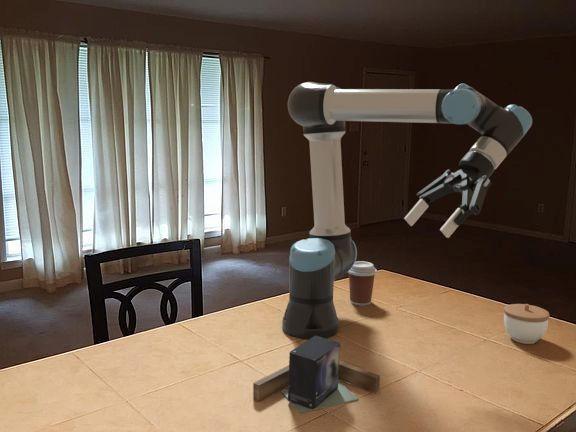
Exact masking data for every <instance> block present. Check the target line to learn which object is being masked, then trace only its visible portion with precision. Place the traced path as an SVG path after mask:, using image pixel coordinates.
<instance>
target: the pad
mask: <svg viewBox="0 0 576 432" xmlns="http://www.w3.org/2000/svg"><path fill="white" fill-rule="evenodd" d="M280 391H281V393H282V394H283V396H284V397H285V398H286V399H287V400H288V388H287V389H286V388H285V389H281V390H280ZM356 401H359V397H357V396H356V395H355V394H354V393H353V392H352V391H351V390H349V389H348V388H347V387H346V386H345V385H344V384H343V383H342V382H340V380H338V389H337V390H336V391H334V392H333V393H332V394H331V395H330V396H328V397H327V398H326V399H325V400H324V401H323V402H321V403H320V404H319V405H318V406H317V407H316V408H314V409H311V408H308V407H305V406H302V405H299V404H297V403H294V402H291V401H289V403H290V404H291V405H292V406H293V407H294V409H295V410H296V411H297V412H298V413H299V414H302V413H307V412H311V411H316V410H321V409H325V408H330V407H333V406H334V407H335V406H338V405H342V404H348V403H351V402H356Z"/></svg>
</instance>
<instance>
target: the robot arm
mask: <svg viewBox="0 0 576 432" xmlns="http://www.w3.org/2000/svg"><path fill="white" fill-rule="evenodd" d="M287 110H288V111H287V112H288V114H289V116H290V117H291V119H292V120H293V121H294V122H295V123H296V124H298V125H299V126H301V127H302V131H303V136H304V137H305V138H306V139H307V140H308V142H309V143H308V144H309V156H310V157H309V158H310V160H309V161H310V172H311V173H310V174H311V188H312V189H311V191H312V204H313V205H312V206H313V207H312V208H313V223H314V226H313V227H312V229H310V231H309V238H306V239H300V240H298V241H296V242H294V243H293V244H292V245H291V247H290V250H289V258H288V263H289V284H288V285H289V287H288V289H289V297H288V299H289V300H288V302H287V306H286V308H285V310H284V311H285V312H284V315H283V316H282V321H281V322H282V325H281V327H282V330H283V332H284V333H286V334H288V335H290V336H292V337H295V338H300V339H307V340H309V339H311V338H312V337H314V336H319V337H322V338H325V339H327V338H329V337H332V336H334V335H336V334H337V333H338V332H339V329H340V328H339V327H340V320H339V318H338V314H337V311H336V306H335V303H334V285H335V284H334V283H335V282H334V281H336V280H337V279H338V278H340V277H342V276H345V274H347V273H348V271H349V270H350V269H351V268H352V266H353V265H354V263H355V262H356V260H357V256H358V251H357V249H358V248H357V246H356V243H355V242H354V240H352V239H353V238H352V233H351V229H350V228H349V227H348V226H347V225H346V222H345V205H344V201H345V199H344V184H343V181H344V180H343V167H342V163H343V162H342V147H341V145H342V144H341V143H342V142H341V140H342V137H343V136H344V135H345V134H346V121H347V122H375V123H376V122H381V123H382V122H385V123H386V122H387V123H420V124H423V123H424V124H425V123H426V124H427V123H428V124H452V125H453V124H454V125H468V126H469V127H470V128H472V129H474V130H475V131H477V132H478V133H480V134H481V136H480V137H479V138H478V139H477V141H476V142H475V143H474V144H473V145H472V146H471V147H470V149H469V151H467V153H466V154H465V155H464V156H463V157H462V158H461V160H460V161H459V163H458V169H457V171H455V172H452V171H451V169H446V170H445V171H444V173H443V174H441V175H440V176H438V177H437V178H436V179H434V180H433V181H432V182H431V183H429V184H428V185H426V186H425V187H424V188H422V189H421V190H420V191H418V192H417V193H416V196H417V198H418V201H417V202H416V203H415V204H414V205H413V207H412V208H411V209H410V210H409V212H408V213H407V214H406V215H405V216H404V217H403V219H404V220H405V222H407V224H408V225H409V226H410V227H412V226H414V224H415V223H416V222H417V221H418V220H419V219H420V217H421V216H423V214H424V213H425V212H426V211H427V209H428V208H429V207H430V206H429V204H431V203H432V202H434V201H435V202H436V201H437V200H438V199H441V198H442V197H444V196H446V195H448V194H453V193H460V194H462V199H461V204H459V207H457V208H456V209H455V211H453V213H452V214H451V215H450V217H449V218H448V219H447V220H446V221H445V223H444V224H443V225H442V226H441V227H440V229H439V231H440V232H441V233H442V234H443V236H445V238H447V239H449V238H450V237H451V235H453V234H454V232H455V231H456V229H458V227H459V226H461V225H462V224H463V223H464V222H465V221H466V219H467V218H468V217H471V216H472V215H474V216H478V215H480V213H481V211H482V207H483V205H484V201H485V198H486V195H487V192H488V190H489V188H490V187H491V186H492V182H491V180H490V179H489V178H490V177H491V176H492V174H493V173H494V172H495V170H497V168H498V167H499V166H500V164H501V163H502V162H503V161H504V160H505V158H507V156H508V155H509V154H510V153H511V152H512V151H513V150H514V148H515V147H516V146H517V145H518V144H519V143H520V141H521V140H522V139H523V138H524V137H525V135H526V134H527V132H528V131H529V130H530V128H532V125H533V118H532V115H531V114H530V112H529V111H528V110H527V109H526V108H524V107H523V106H520V105H519V106H518V105H517V104H509V105H507V106H506V107H504V108H503V107H502V106H499V105H498V104H496V103H495V102H494V101H492V100H490V98H488V97H486V96H485V95H483V94H482V93H481V92H479V91H477V90H476V89H475V87H472V86H469V85H468V84H466V83H460V84H458V85H457V86H456V87H455V88H453V89H451V88H450V89H449V88H448V89H445V88H444V89H440V88H439V89H433V88H431V89H429V88H427V89H426V88H425V89H422V88H420V89H419V88H418V89H417V88H416V89H415V88H414V89H413V88H409V89H407V88H406V89H404V88H403V89H402V88H399V89H397V88H396V89H395V88H392V89H391V88H389V89H388V88H387V89H386V88H384V89H383V88H381V89H380V88H374V89H373V88H371V89H370V88H367V89H366V88H363V89H362V88H355V89H354V88H348V89H347V88H345V89H344V88H343V89H342V88H340V87H338V86H336V85H334V84H333V83H321V82H313V81H307V82H303V83H300V84H298V85H297V86H295V87H294V88H293V90H292V91H291V92H290V94H289V96H288V100H287Z"/></svg>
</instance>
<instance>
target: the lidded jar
mask: <svg viewBox="0 0 576 432" xmlns="http://www.w3.org/2000/svg"><path fill="white" fill-rule="evenodd" d="M549 320H550V313H549V311H548V310H546V309H544V308H543V307H542V308H541V307H539V306H537V305H531V304H529V303H511V304H507V305H505V306H504V308H503V324H504V329H505V332H507V335H509V336H510V338H511V340H513V341H514V342H516V343H521V344H525V345H531V344H532V345H533V344H535V343H537V342H538V341H539V340H541V339H542V338H543V337H544V335H545V334H546V332H547V329H548V325H549Z"/></svg>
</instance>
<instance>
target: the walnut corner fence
mask: <svg viewBox="0 0 576 432" xmlns="http://www.w3.org/2000/svg"><path fill="white" fill-rule="evenodd" d="M338 381H342V382H344V383H347V384H349V385H352V386H354V387H358V388H359V389H362V390H365V391H367V392H369V393H372V394H378V393H379V392H380V389H381V387H380V385H381V383H380V382H381V375H380V374H377V373H375V372H372V371H369V370H366V369H363V368H361V367H359V366H355V365H353V364H349V363H347V362H345V361H342V360H339V375H338ZM288 386H289V364H288V365H287V366H284V367H283V368H281V369H278V370H276V371H274V372H272V373H271V374H269V375H266V376H264V377H262V378H260V379H258V380H256V381H255V382H253V385H252V387H253V389H252V391H253V393H252V394H253V395H252V396H253V400H254V401H256V402H261V401H263V400H264V399H266V398H269V397H270V396H272V395H274V394H276V393H278V392H279V391H281V390H284V389H286V387H288Z"/></svg>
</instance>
